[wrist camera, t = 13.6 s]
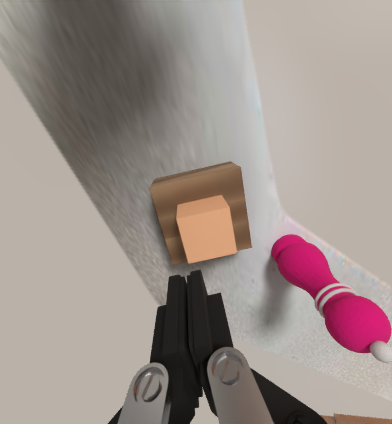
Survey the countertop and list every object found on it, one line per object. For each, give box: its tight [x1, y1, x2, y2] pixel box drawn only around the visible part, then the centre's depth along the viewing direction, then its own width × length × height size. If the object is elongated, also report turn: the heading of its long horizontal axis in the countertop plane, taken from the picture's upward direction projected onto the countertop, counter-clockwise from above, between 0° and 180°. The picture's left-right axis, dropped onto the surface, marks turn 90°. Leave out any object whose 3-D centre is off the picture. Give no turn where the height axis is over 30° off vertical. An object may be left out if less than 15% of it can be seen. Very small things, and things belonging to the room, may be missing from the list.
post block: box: [149, 162, 252, 265], centre depth 31 cm, size 12×12×6 cm
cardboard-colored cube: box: [176, 195, 237, 264], centre depth 26 cm, size 6×6×5 cm
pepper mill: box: [272, 234, 392, 363], centre depth 28 cm, size 7×7×20 cm
